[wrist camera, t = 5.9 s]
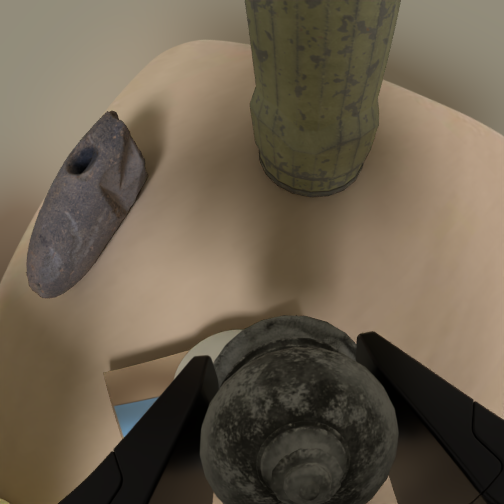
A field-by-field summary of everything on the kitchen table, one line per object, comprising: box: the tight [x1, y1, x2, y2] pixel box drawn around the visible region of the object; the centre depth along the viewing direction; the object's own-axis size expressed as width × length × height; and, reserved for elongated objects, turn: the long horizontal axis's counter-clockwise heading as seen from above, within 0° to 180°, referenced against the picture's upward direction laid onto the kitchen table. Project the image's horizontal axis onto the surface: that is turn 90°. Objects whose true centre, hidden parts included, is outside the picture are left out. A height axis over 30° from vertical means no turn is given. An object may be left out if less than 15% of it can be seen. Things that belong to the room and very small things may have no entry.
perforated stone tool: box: [26, 111, 148, 298], centre depth 21 cm, size 15×5×7 cm, turn 152°
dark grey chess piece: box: [200, 315, 399, 504], centre depth 8 cm, size 6×6×12 cm
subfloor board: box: [103, 315, 297, 504], centre depth 17 cm, size 20×14×1 cm
